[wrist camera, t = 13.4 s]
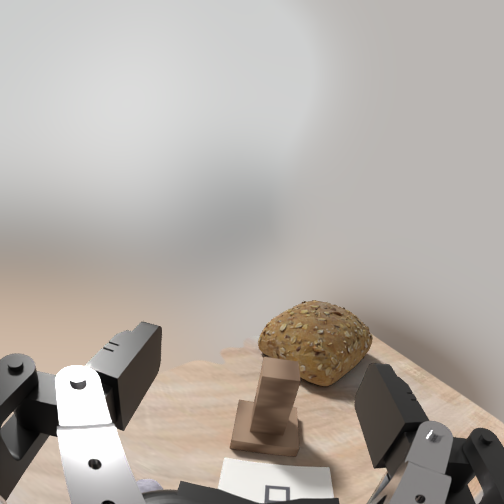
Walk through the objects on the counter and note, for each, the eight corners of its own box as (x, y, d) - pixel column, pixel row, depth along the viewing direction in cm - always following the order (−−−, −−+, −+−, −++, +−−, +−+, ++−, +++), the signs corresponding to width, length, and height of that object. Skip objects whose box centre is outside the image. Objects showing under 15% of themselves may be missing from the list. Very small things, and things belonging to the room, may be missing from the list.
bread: (302, 325, 78) (312, 284, 75) (373, 355, 64) (388, 310, 62) (240, 352, 59) (248, 300, 57) (327, 401, 46) (347, 344, 43)
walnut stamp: (229, 448, 33) (241, 383, 30) (237, 408, 42) (248, 346, 39) (295, 456, 32) (320, 393, 30) (293, 416, 41) (312, 355, 39)
